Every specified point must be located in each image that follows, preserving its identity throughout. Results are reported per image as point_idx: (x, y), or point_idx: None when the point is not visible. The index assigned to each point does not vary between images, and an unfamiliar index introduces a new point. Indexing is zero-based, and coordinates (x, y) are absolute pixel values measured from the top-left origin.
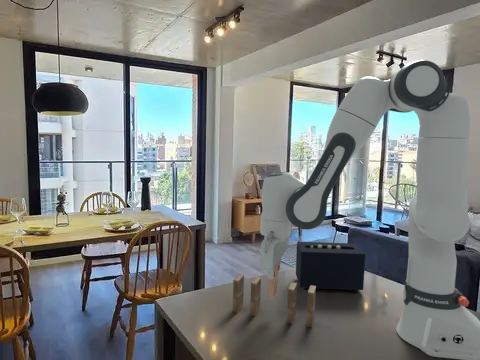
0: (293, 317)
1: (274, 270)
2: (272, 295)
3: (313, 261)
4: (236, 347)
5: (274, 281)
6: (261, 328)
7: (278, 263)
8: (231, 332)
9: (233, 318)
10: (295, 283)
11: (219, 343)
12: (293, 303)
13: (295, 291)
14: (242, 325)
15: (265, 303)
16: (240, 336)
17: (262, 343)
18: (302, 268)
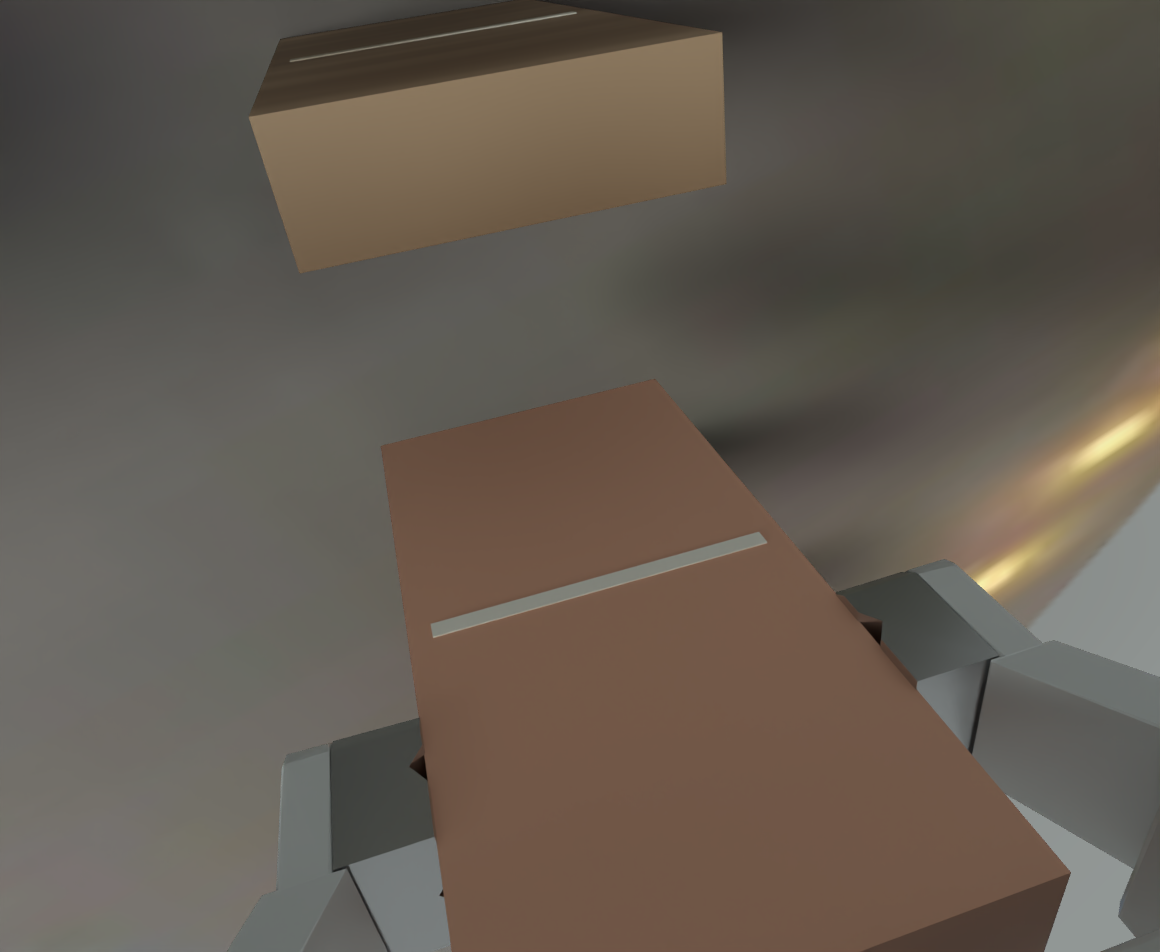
0: (472, 11)
1: (928, 718)
2: (671, 409)
3: None
4: (1097, 313)
5: (722, 536)
6: (777, 284)
7: (452, 925)
8: (916, 457)
9: None
10: (299, 149)
11: (1067, 439)
12: (586, 16)
13: (432, 63)
14: (789, 450)
15: (249, 514)
16: (952, 370)
17: (1013, 150)
18: None
